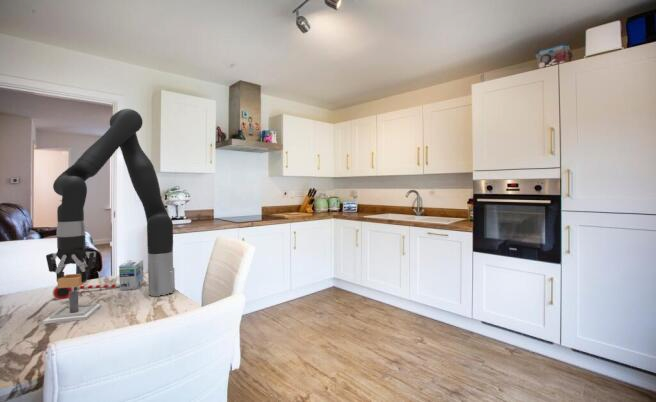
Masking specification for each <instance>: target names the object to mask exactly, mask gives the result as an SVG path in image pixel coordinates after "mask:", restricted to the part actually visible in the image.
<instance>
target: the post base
mask: <svg viewBox="0 0 656 402" xmlns="http://www.w3.org/2000/svg"><path fill="white" fill-rule="evenodd" d="M68 302H69V303H68V304H69V305H64V306H63V307H60V308H59V309H58V310H56V311H55V312H54V313H52V314H51V315H50V316H48V317H47V318H45V319H44V320H42V325H47V324H55V323H65V322H67V323H68V322H75V321H85V320H88V319H89V318H90V317H92V315H94V314H95V313H96V312H97V311H98V310H100V308H101V307H102V303H97V302H94V303H93V302H91V303H82V304H80V303H79V290H74V291H71V292H69V298H68Z"/></svg>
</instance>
